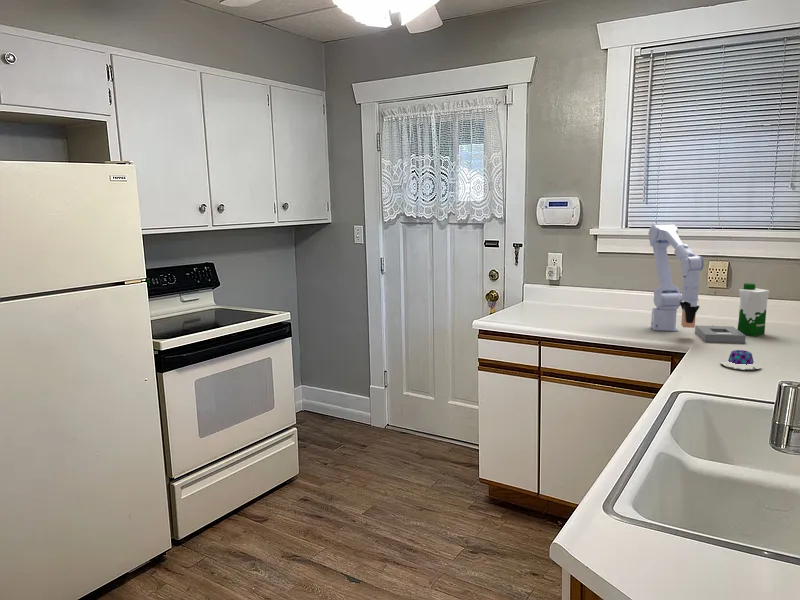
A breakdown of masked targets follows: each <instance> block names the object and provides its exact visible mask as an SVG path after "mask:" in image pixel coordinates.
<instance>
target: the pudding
mask: <svg viewBox="0 0 800 600" xmlns="http://www.w3.org/2000/svg"><path fill="white" fill-rule="evenodd" d="M727 360H728V361H729V362H732V363H735V364H746V365H747V364H753V363H755V362H754V358H753V354H752V352H750V351H748V350H742V349H735V350H731V351H730V355H729V357H728V359H727Z"/></svg>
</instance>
